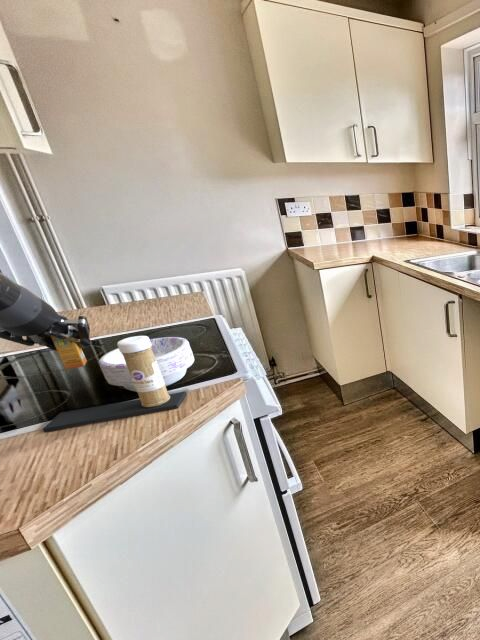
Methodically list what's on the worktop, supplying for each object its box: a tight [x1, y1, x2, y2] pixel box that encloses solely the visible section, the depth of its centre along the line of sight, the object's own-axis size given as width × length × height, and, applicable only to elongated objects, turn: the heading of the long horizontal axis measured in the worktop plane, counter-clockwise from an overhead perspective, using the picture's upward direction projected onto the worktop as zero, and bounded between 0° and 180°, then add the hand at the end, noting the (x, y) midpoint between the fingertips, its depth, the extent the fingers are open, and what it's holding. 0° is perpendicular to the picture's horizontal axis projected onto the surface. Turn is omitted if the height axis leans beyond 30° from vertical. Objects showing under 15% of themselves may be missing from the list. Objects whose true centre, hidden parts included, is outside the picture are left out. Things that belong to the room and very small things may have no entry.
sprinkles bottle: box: [116, 335, 170, 407], centre depth 81 cm, size 5×5×13 cm
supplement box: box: [51, 333, 88, 370], centre depth 90 cm, size 3×4×10 cm
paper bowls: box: [98, 336, 195, 393], centre depth 92 cm, size 15×15×8 cm
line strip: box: [42, 391, 187, 433], centre depth 81 cm, size 20×6×1 cm, turn 113°
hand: (73, 345), depth 92 cm, fingers closed on supplement box, 4 cm apart
